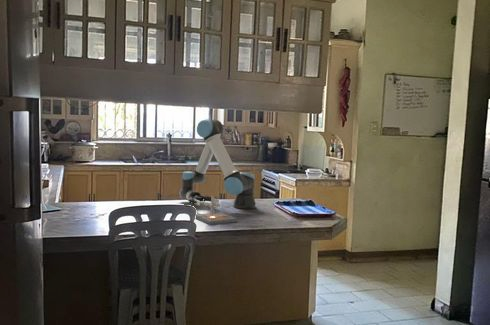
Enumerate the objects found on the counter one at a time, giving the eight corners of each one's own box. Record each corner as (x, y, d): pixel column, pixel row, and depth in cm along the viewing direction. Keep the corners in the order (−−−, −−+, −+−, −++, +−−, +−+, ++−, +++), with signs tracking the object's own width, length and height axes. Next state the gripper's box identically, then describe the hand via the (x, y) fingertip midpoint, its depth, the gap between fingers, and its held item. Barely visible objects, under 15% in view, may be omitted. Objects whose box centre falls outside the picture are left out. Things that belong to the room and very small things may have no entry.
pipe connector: (217, 214, 283) (218, 199, 282) (202, 213, 285) (202, 197, 284) (221, 211, 293) (222, 196, 292) (206, 210, 294) (207, 195, 293)
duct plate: (220, 215, 282) (220, 212, 282) (236, 221, 267) (236, 218, 267) (194, 217, 272) (194, 214, 272) (209, 224, 257) (209, 221, 257)
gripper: (209, 201, 315) (225, 207, 298) (176, 203, 301) (191, 209, 284) (210, 190, 314) (226, 195, 297) (177, 192, 300) (191, 198, 283)
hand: (209, 202), depth 290 cm, fingers open, 13 cm apart
